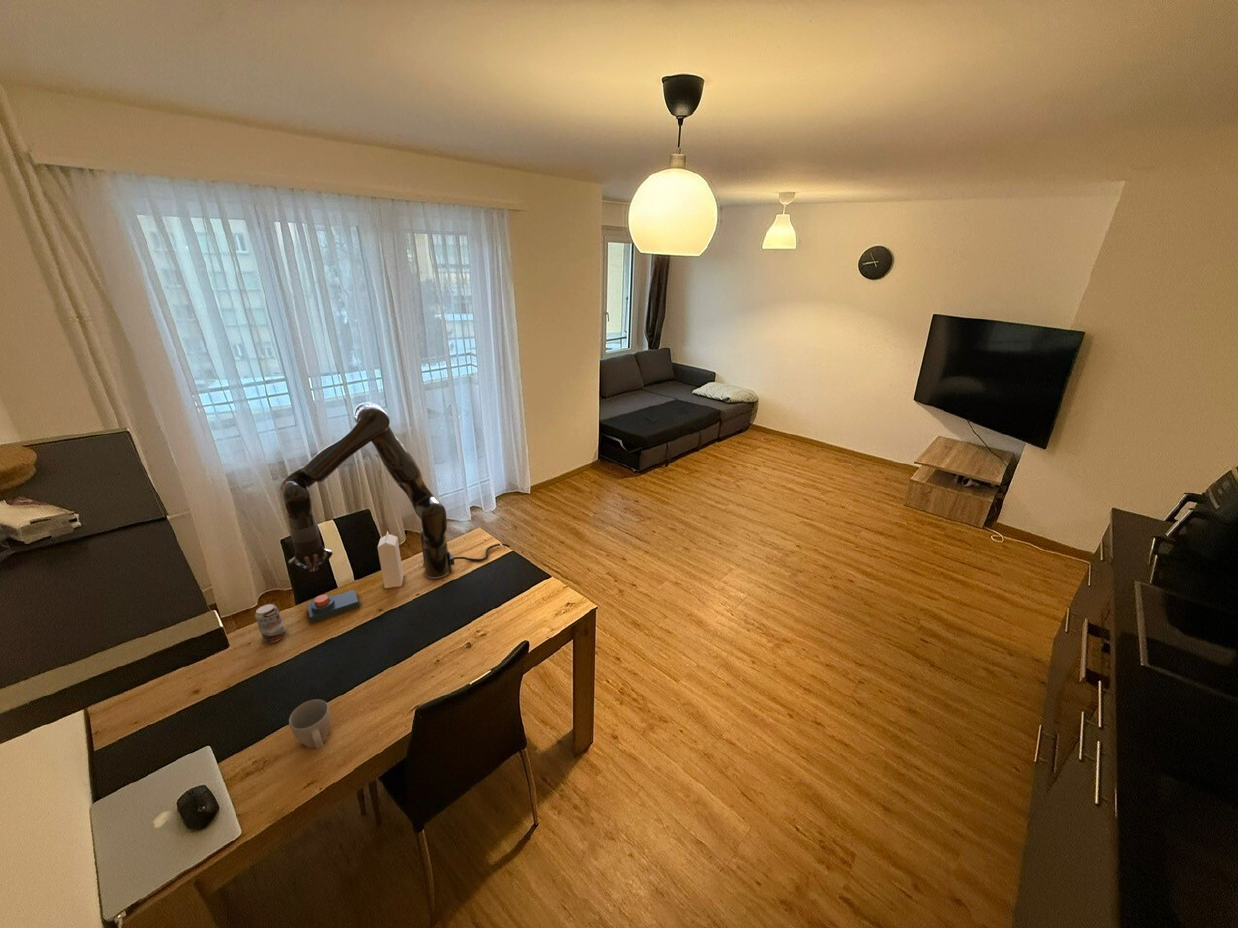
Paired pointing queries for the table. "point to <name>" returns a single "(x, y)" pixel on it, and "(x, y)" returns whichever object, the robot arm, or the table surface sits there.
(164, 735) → the table surface
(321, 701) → the mug
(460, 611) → the table surface
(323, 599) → the release button
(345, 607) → the button base
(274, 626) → the beverage can
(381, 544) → the milk
